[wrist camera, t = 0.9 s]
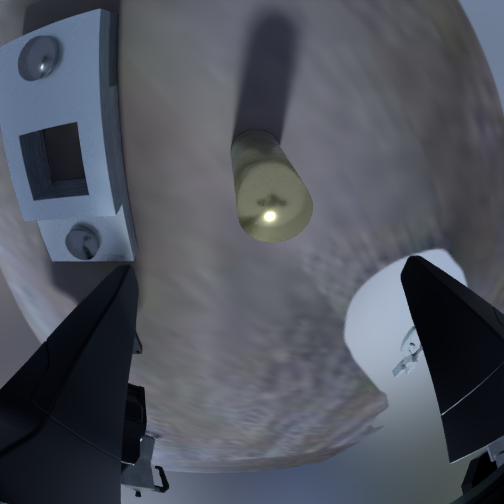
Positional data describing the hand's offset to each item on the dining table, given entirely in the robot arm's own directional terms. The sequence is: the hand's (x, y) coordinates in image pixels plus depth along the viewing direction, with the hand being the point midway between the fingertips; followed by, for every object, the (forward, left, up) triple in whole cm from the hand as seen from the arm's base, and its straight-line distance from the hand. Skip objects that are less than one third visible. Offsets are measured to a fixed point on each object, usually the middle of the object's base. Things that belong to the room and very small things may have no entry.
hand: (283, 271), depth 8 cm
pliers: (-30, -31, -13) cm, 45 cm away
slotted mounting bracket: (+1, +12, -12) cm, 17 cm away
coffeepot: (-72, +24, -12) cm, 77 cm away
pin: (0, -1, -12) cm, 12 cm away
